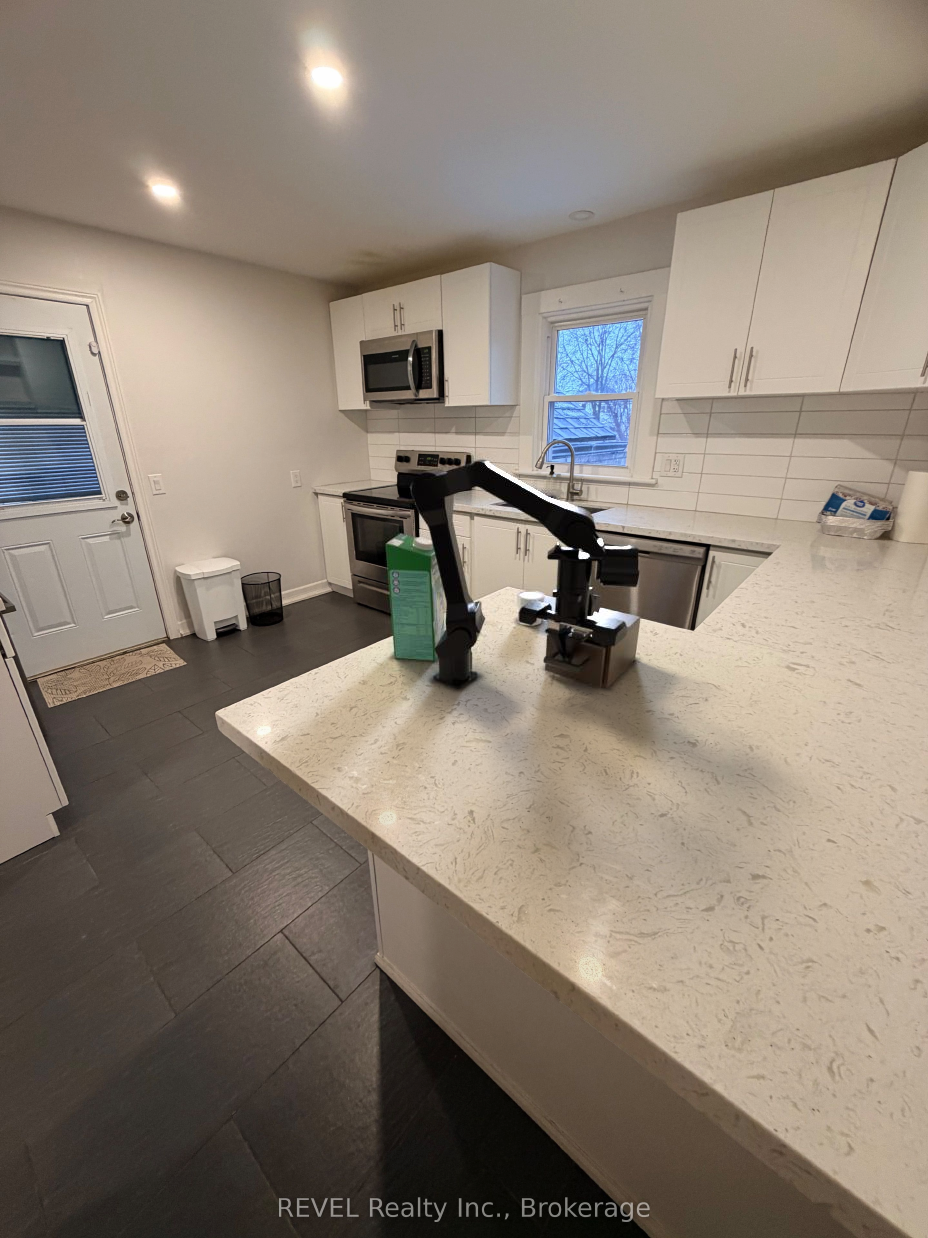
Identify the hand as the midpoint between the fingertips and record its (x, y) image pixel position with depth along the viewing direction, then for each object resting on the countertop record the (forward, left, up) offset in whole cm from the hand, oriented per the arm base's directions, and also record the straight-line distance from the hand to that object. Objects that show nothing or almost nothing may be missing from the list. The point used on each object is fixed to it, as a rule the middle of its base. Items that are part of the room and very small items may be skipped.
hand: (567, 664), depth 91 cm
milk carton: (-5, +33, -5) cm, 34 cm away
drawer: (+6, 0, -4) cm, 7 cm away
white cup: (+23, +22, -5) cm, 33 cm away
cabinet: (+11, 0, -5) cm, 12 cm away
